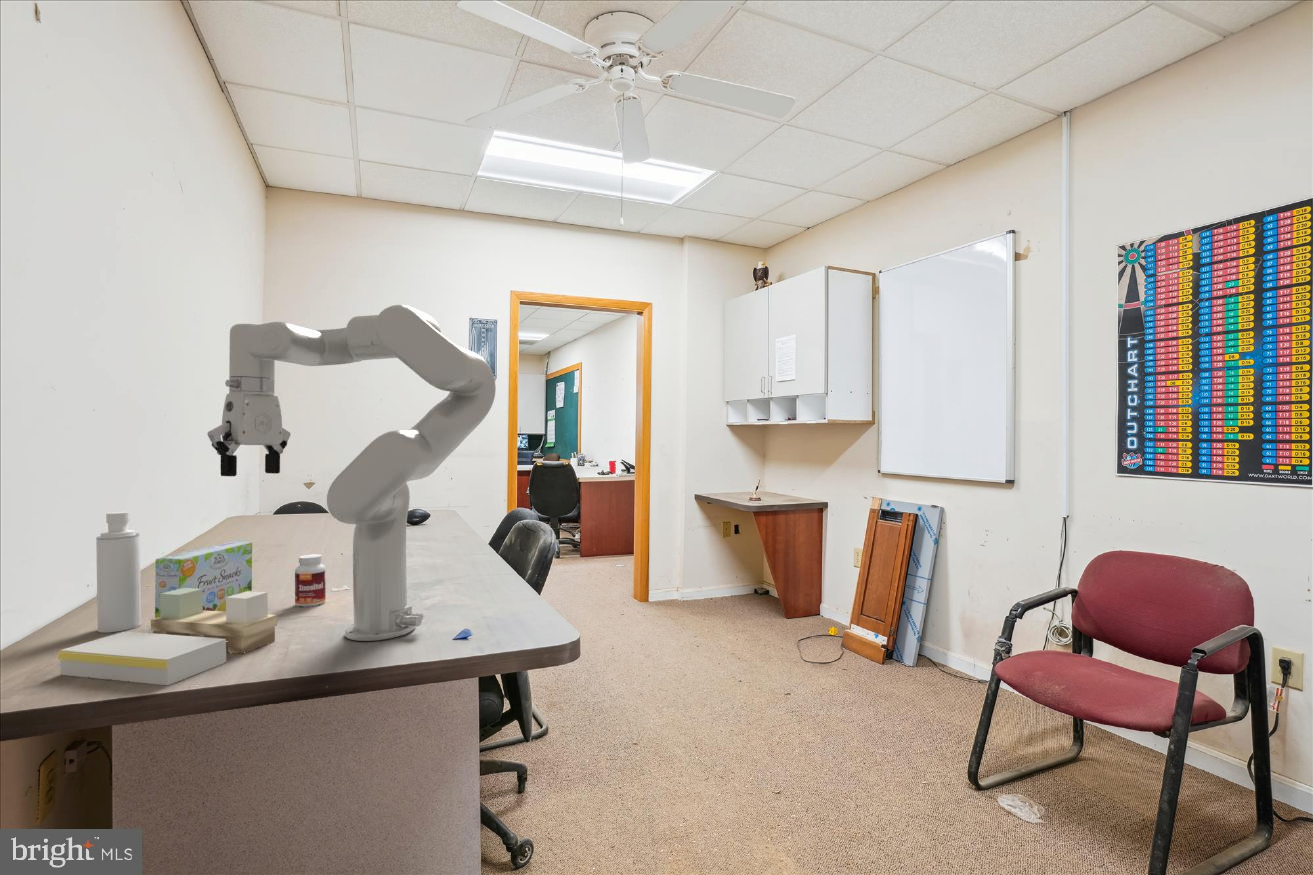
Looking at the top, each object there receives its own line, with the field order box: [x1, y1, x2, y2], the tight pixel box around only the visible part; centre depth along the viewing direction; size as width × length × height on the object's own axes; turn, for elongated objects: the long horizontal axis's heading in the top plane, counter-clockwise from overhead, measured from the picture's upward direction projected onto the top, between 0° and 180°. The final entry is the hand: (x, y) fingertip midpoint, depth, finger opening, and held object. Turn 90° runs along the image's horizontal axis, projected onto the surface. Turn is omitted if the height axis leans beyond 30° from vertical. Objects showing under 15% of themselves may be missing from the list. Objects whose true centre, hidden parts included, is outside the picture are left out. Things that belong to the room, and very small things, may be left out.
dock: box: [57, 630, 227, 686], centre depth 104 cm, size 22×10×4 cm, turn 76°
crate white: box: [226, 591, 269, 624], centre depth 115 cm, size 4×4×4 cm
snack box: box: [154, 541, 253, 619], centre depth 132 cm, size 21×6×15 cm, turn 179°
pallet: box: [150, 610, 278, 655], centre depth 116 cm, size 21×7×5 cm, turn 76°
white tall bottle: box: [95, 511, 142, 634], centre depth 128 cm, size 7×7×25 cm
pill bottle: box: [294, 553, 327, 608], centre depth 144 cm, size 6×6×11 cm
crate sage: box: [160, 588, 203, 619], centre depth 118 cm, size 4×4×4 cm
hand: (251, 474), depth 124 cm, fingers open, 9 cm apart
